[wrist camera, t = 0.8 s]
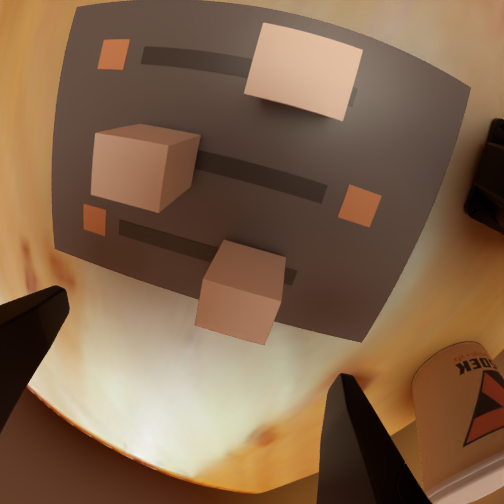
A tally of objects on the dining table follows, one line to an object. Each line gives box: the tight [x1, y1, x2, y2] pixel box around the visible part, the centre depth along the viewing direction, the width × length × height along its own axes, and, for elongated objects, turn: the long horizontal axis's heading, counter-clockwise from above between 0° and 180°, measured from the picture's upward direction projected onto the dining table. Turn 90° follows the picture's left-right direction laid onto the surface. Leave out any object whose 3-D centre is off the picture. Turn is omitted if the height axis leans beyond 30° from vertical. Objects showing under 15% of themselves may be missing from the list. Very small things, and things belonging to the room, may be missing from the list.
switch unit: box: [52, 0, 471, 343], centre depth 14 cm, size 20×15×3 cm
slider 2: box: [195, 240, 286, 345], centre depth 13 cm, size 3×2×4 cm
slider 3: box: [244, 23, 363, 121], centre depth 9 cm, size 3×2×4 cm
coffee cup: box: [412, 342, 504, 504], centre depth 16 cm, size 9×9×12 cm
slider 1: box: [91, 124, 201, 213], centre depth 11 cm, size 3×2×4 cm
